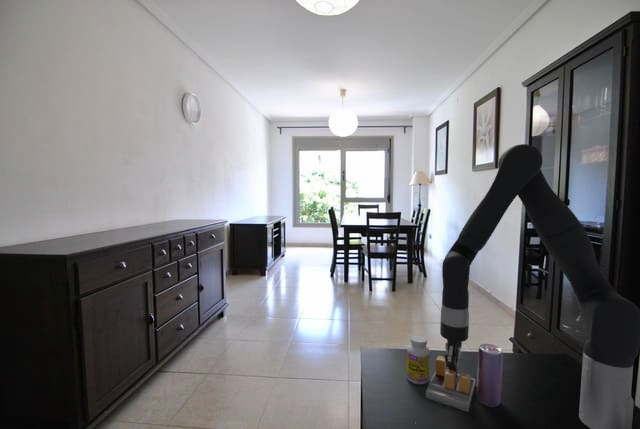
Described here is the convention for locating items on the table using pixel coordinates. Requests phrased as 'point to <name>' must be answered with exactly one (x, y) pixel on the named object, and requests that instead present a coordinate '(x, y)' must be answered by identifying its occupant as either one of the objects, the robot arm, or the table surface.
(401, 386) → the table surface
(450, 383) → the paddle
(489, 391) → the beverage can
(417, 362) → the supplement bottle
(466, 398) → the tray
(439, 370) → the wooden block
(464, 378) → the tan upright block
